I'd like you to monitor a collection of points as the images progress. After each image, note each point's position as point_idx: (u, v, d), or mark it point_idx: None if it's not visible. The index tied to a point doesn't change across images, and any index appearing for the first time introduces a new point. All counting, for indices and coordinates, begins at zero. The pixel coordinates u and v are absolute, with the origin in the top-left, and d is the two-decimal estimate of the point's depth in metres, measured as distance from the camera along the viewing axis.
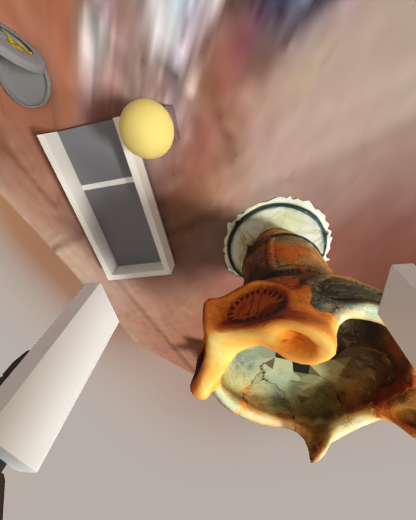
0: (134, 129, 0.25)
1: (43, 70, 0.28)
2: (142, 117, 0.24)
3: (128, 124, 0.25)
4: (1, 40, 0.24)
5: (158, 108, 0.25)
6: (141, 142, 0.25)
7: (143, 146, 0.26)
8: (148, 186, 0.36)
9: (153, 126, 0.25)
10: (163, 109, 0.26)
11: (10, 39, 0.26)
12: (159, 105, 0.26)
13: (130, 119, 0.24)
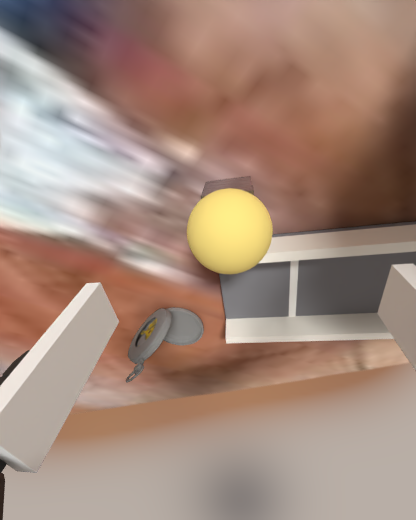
0: (223, 258, 0.15)
1: (168, 316, 0.27)
2: (207, 241, 0.15)
3: (215, 264, 0.16)
4: (143, 346, 0.26)
5: (198, 211, 0.15)
6: (243, 252, 0.15)
7: (250, 249, 0.15)
8: (311, 237, 0.23)
9: (222, 227, 0.14)
10: (201, 202, 0.16)
11: (146, 333, 0.28)
12: (195, 208, 0.16)
13: (209, 259, 0.15)
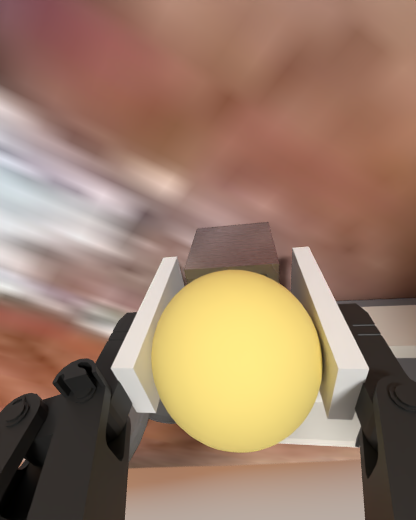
0: (220, 446, 0.07)
1: None
2: (185, 412, 0.07)
3: (205, 444, 0.07)
4: None
5: (169, 335, 0.07)
6: (267, 440, 0.07)
7: (281, 434, 0.07)
8: None
9: (217, 394, 0.06)
10: (176, 310, 0.08)
11: None
12: (166, 317, 0.08)
13: (191, 435, 0.07)
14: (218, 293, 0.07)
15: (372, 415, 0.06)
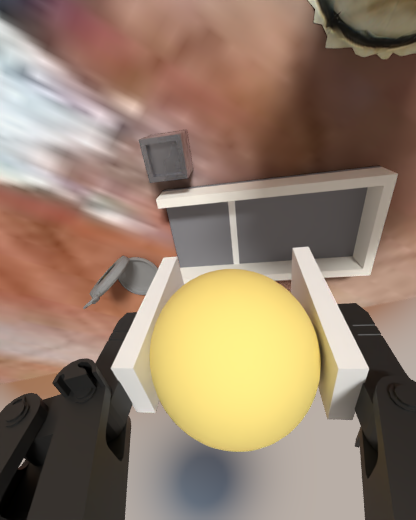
0: (218, 445, 0.07)
1: (125, 259, 0.31)
2: (182, 411, 0.07)
3: (203, 443, 0.07)
4: (101, 282, 0.29)
5: (167, 334, 0.07)
6: (265, 439, 0.07)
7: (279, 433, 0.07)
8: (241, 184, 0.27)
9: (215, 392, 0.06)
10: (174, 309, 0.08)
11: None
12: (164, 316, 0.08)
13: (188, 434, 0.07)
14: (216, 292, 0.07)
15: (372, 415, 0.06)
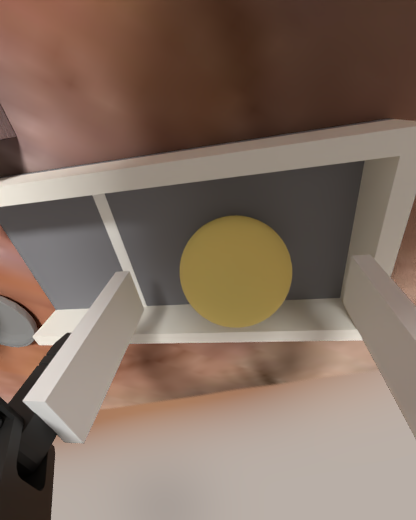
0: (226, 314, 0.11)
1: None
2: (204, 291, 0.11)
3: (216, 319, 0.12)
4: None
5: (194, 249, 0.11)
6: (255, 307, 0.11)
7: (263, 303, 0.11)
8: (101, 164, 0.13)
9: (225, 274, 0.10)
10: (197, 236, 0.12)
11: None
12: (190, 242, 0.12)
13: (207, 313, 0.12)
14: (224, 223, 0.12)
15: None
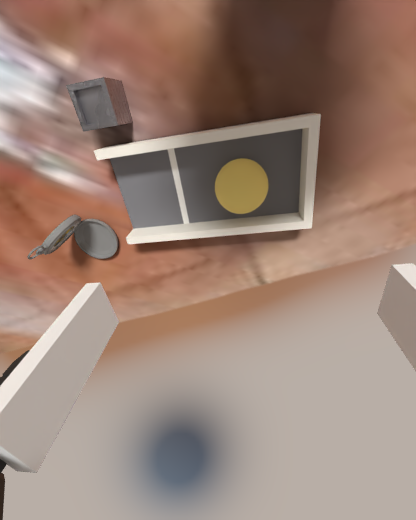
0: (238, 198, 0.25)
1: (75, 216, 0.32)
2: (228, 188, 0.25)
3: (233, 203, 0.26)
4: None
5: (223, 171, 0.26)
6: (250, 194, 0.25)
7: (254, 192, 0.25)
8: (177, 135, 0.27)
9: (237, 178, 0.25)
10: (224, 166, 0.26)
11: None
12: (221, 170, 0.26)
13: (229, 199, 0.26)
14: (237, 160, 0.26)
15: None
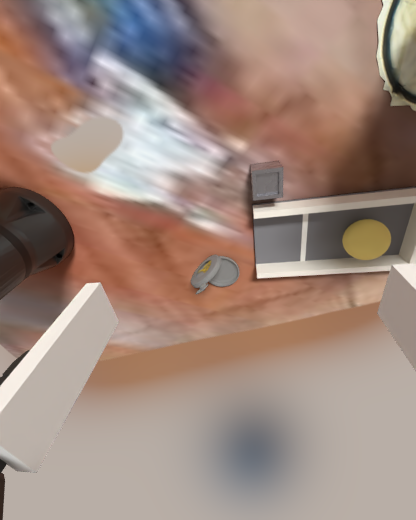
0: (371, 251, 0.34)
1: (219, 257, 0.40)
2: (365, 244, 0.33)
3: (365, 254, 0.34)
4: (204, 274, 0.39)
5: (359, 230, 0.34)
6: (382, 249, 0.33)
7: (384, 248, 0.33)
8: (316, 200, 0.36)
9: (374, 238, 0.33)
10: (358, 226, 0.34)
11: (203, 270, 0.41)
12: (354, 228, 0.35)
13: (363, 252, 0.34)
14: (369, 221, 0.34)
15: None
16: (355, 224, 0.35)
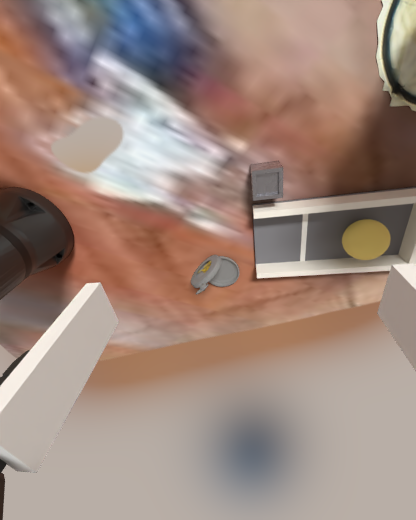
0: (370, 251, 0.34)
1: (219, 257, 0.40)
2: (364, 244, 0.33)
3: (365, 254, 0.34)
4: (204, 274, 0.39)
5: (358, 230, 0.34)
6: (381, 249, 0.33)
7: (384, 248, 0.33)
8: (316, 200, 0.36)
9: (373, 238, 0.33)
10: (357, 226, 0.34)
11: (203, 270, 0.41)
12: (354, 228, 0.35)
13: (362, 252, 0.34)
14: (368, 222, 0.34)
15: None
16: (355, 224, 0.35)
